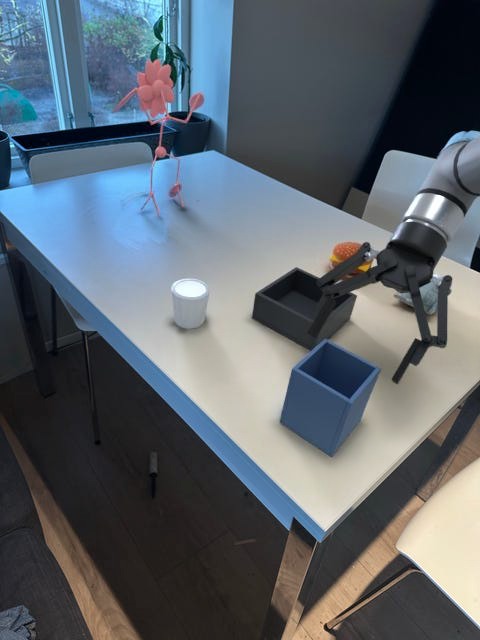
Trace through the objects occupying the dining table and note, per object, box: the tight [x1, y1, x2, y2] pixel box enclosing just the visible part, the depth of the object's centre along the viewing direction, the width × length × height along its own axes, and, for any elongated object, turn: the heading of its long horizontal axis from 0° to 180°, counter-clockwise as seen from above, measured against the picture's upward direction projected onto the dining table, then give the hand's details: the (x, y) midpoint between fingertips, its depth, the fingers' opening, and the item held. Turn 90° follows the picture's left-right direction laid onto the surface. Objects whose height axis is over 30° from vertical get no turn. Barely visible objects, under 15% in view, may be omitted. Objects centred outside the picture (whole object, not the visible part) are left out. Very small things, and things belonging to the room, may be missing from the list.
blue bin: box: [279, 339, 382, 458], centre depth 64 cm, size 9×9×11 cm
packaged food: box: [393, 282, 453, 316], centre depth 95 cm, size 9×12×5 cm
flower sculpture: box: [111, 58, 205, 217], centre depth 113 cm, size 15×26×35 cm, turn 142°
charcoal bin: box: [251, 266, 358, 352], centre depth 86 cm, size 14×14×6 cm
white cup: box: [170, 278, 211, 330], centre depth 82 cm, size 7×7×7 cm
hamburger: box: [328, 241, 375, 281], centre depth 102 cm, size 9×10×7 cm
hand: (350, 358), depth 65 cm, fingers open, 13 cm apart
